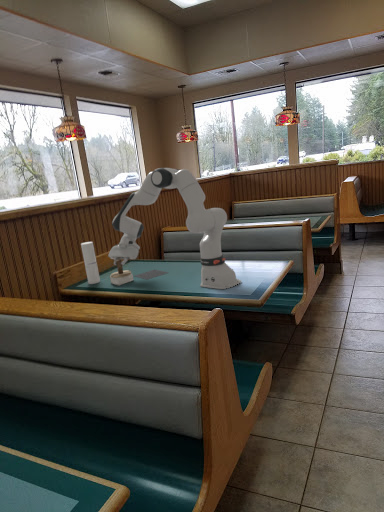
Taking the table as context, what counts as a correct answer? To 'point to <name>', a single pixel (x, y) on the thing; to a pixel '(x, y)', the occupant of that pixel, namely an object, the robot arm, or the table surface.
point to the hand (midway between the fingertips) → (118, 264)
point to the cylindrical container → (90, 262)
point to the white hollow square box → (121, 280)
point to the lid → (120, 271)
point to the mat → (150, 274)
